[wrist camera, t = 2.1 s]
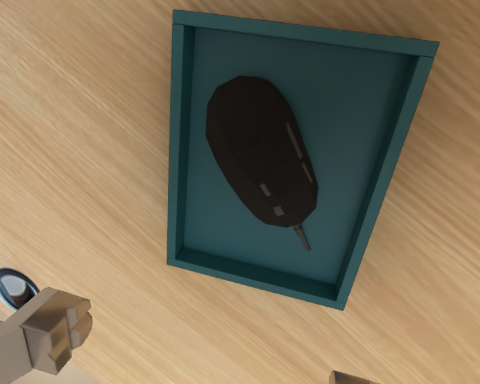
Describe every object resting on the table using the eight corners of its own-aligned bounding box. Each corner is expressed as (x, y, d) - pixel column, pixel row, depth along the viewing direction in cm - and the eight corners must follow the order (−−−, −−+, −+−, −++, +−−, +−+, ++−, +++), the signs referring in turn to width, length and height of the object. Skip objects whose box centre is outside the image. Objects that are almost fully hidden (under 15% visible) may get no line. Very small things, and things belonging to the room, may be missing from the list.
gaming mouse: (274, 257, 27) (267, 288, 24) (195, 98, 23) (172, 107, 20) (346, 239, 25) (350, 269, 22) (272, 58, 21) (261, 60, 18)
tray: (187, 13, 22) (172, 9, 19) (427, 42, 19) (440, 41, 17) (177, 249, 30) (166, 264, 28) (341, 291, 28) (343, 311, 26)
